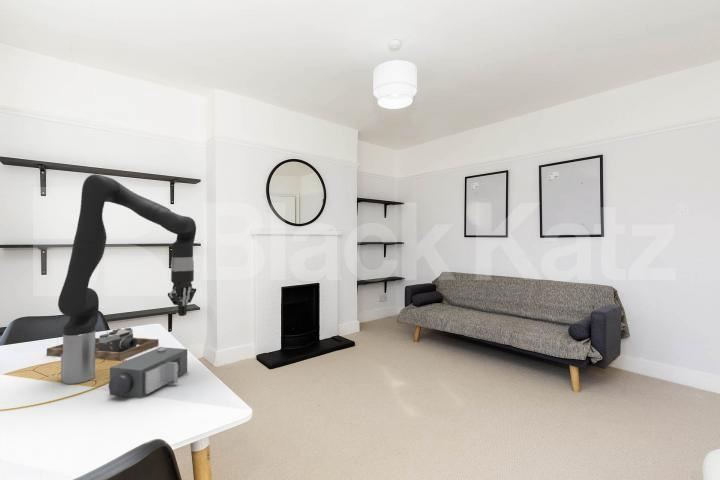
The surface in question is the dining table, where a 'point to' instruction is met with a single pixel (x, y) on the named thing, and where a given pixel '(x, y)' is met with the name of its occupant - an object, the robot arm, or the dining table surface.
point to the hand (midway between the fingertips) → (182, 315)
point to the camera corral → (144, 345)
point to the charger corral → (59, 349)
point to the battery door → (160, 376)
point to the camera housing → (143, 370)
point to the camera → (117, 340)
